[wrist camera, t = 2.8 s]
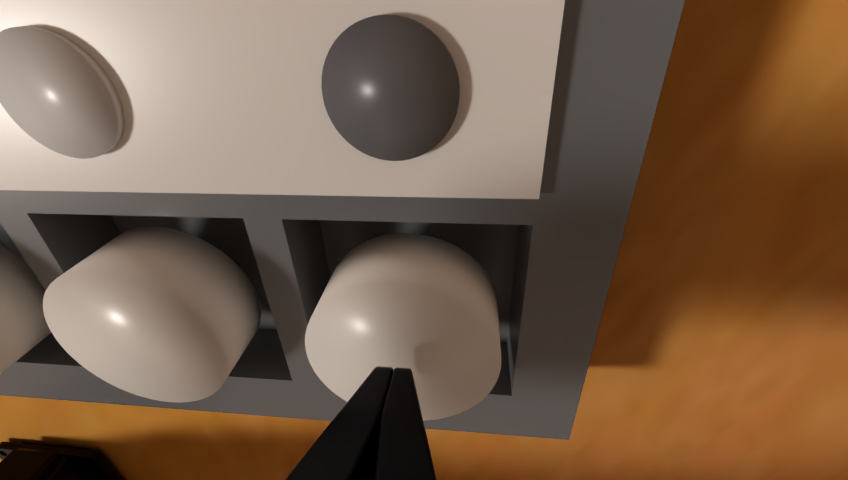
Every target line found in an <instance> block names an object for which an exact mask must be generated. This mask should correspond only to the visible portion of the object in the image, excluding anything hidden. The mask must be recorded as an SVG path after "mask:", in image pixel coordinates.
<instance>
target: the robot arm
mask: <svg viewBox="0 0 848 480" xmlns="http://www.w3.org/2000/svg"><path fill="white" fill-rule="evenodd" d="M0 458H1V459H2V461H1V462H0V480H122V479H121V478H120V477H119V475H118V474H117V473H116V472H115V470H114V469H113V468H112V467H111V465H110V464H109V463H108V462H107V460H106V459H105V458H104V456H103V455H102V454H101V453H99V452H97V451H94V450H88V449H77V448H67V447H56V446H45V445H34V444H23V443H12V442H1V443H0ZM285 480H436V476H435V471H434V467H433V462H432V458H431V453H430V449H429V445H428V440H427V436H426V431H425V427H424V422H423V418H422V413H421V409H420V404H419V400H418V395H417V391H416V387H415V382H414V378H413V373H412V370H411V369H410V368H398V367H397V368H395V369H393V368H392V367H382V366H377V367H375V368H374V369H373V371H372V372H371V373H370V374H369V376H368V377H367V378H366V379H365V381H364V382H363V383H362V384H361V386H360V387H359V388H358V389H357V391H356V392H355V393H354V394H353V396H352V397H351V398H350V399H349V401H348V402H347V403H346V404H345V406H344V407H343V408H342V409H341V411H340V412H339V413H338V414H337V416H336V417H335V418H334V419H333V421H332V422H331V423H330V424H329V426H328V427H327V428H326V429H325V431H324V432H323V433H322V434H321V436H320V437H319V438H318V439H317V441H316V442H315V443H314V444H313V446H312V447H311V448H310V449H309V451H308V452H307V453H306V454H305V456H304V457H303V458H302V459H301V461H300V462H299V463H298V464H297V466H296V467H295V468H294V469H293V471H292V472H291V473H290V474H289V476H288V477H287V478H286V479H285Z"/></svg>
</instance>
